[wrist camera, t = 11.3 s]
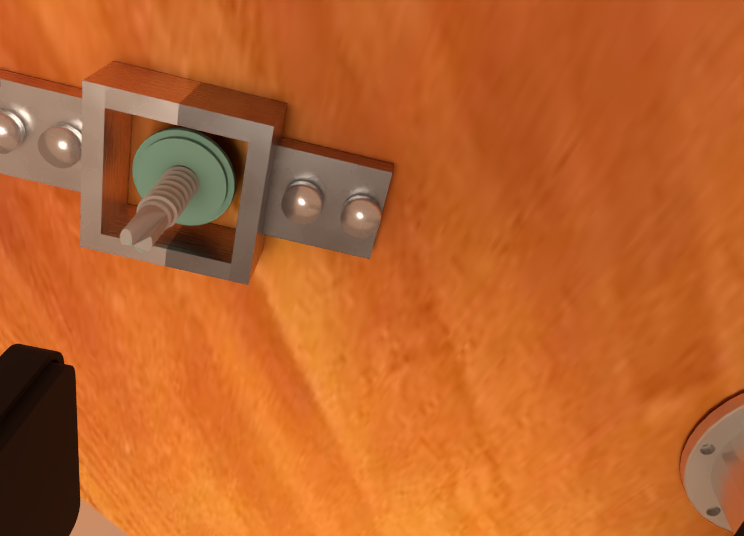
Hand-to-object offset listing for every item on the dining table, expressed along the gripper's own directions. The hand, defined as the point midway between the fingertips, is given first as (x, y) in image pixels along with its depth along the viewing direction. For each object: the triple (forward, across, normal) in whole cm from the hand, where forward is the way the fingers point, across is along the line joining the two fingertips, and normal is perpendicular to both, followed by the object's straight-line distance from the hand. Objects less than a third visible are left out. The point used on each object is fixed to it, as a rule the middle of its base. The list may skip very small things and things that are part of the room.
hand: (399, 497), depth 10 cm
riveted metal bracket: (+26, +11, +7) cm, 29 cm away
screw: (+26, +10, +7) cm, 29 cm away
